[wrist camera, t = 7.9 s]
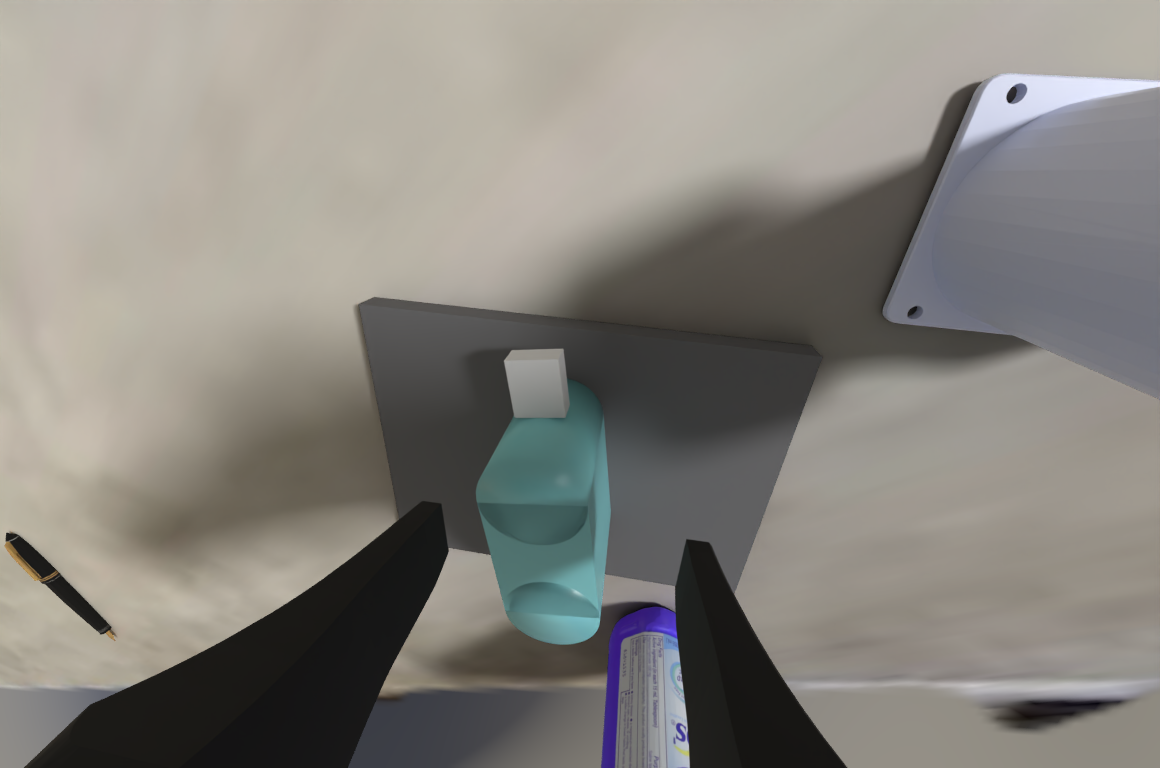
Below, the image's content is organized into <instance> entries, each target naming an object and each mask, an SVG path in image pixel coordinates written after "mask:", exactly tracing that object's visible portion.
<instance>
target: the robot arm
mask: <svg viewBox="0 0 1160 768" xmlns="http://www.w3.org/2000/svg"><path fill="white" fill-rule="evenodd" d="M1013 86H1014V87H1016V90H1017V93H1016V97H1015V98H1014V100H1013V101H1012V102H1011V103H1008V102H1007V100H1006V96H1007V93H1008V91H1009V90H1010V88H1011V87H1013ZM914 306H917V311H916V312H915V313H914V314H913V315H911V316H907V314H908V311H909V310H910V309H911V308H912V307H914ZM883 316H884V317H885V318H886V319H887V320H889V321H890V322H893V323H899V324H909V325H918V326H928V327H938V328H947V329H957V330H966V331H976V332H986V333H995V334H1005V335H1014V336H1016V337H1018V338H1021V339H1023V340H1025V341H1027V342H1030V343H1032V344H1034V345H1036V346H1039V347H1041V348H1043V349H1046V350H1048V351H1050V352H1052V353H1055V354H1057V355H1059V356H1061V357H1064V358H1066V359H1068V360H1071V361H1073V362H1075V363H1077V364H1080V365H1082V366H1084V367H1086V368H1089V369H1091V370H1093V371H1096V372H1098V373H1100V374H1102V375H1105V376H1107V377H1109V378H1111V379H1114V380H1116V381H1118V382H1121V383H1123V384H1125V385H1127V386H1130V387H1132V388H1134V389H1136V390H1139V391H1141V392H1143V393H1146V394H1148V395H1150V396H1152V397H1155V398H1157V399H1159V400H1160V81H1158V80H1137V79H1117V78H1096V77H1076V76H1055V75H1035V74H1014V73H1004V74H999V75H995V76H992V77H990V78H988V79H986V80H984V81H983V82H982V83H981V84H980V85H979V86H978V87H977V89H976V91H975V92H974V94H973V97H972V99H971V101H970V104H969V106H968V108H967V111H966V113H965V115H964V118H963V120H962V123H961V125H960V127H959V130H958V132H957V134H956V137H955V139H954V141H953V144H952V146H951V149H950V151H949V153H948V156H947V158H946V160H945V163H944V165H943V167H942V170H941V172H940V175H939V177H938V179H937V182H936V184H935V186H934V189H933V191H932V193H931V196H930V198H929V201H928V203H927V205H926V208H925V210H924V212H923V215H922V217H921V220H920V222H919V224H918V227H917V229H916V231H915V234H914V236H913V238H912V241H911V243H910V246H909V248H908V250H907V253H906V255H905V257H904V260H903V262H902V264H901V267H900V269H899V272H898V274H897V276H896V279H895V281H894V283H893V286H892V288H891V290H890V293H889V295H888V298H887V300H886V302H885V305H884V307H883ZM448 552H449V550H448V543H447V537H446V530H445V524H444V517H443V510H442V504H441V503H434V502H427V501H421V502H420V503H419V504H418V505H416V506H415V507H414V508H413V509H411V510H410V511H409V512H408V513H406V514H405V515H404V516H403V517H402V518H400V519H399V520H398V521H397V522H396V523H394V524H393V525H392V526H391V527H390V528H388V529H387V530H386V531H385V532H383V533H382V534H381V535H380V536H379V537H377V538H376V539H375V540H374V541H372V542H371V543H370V544H368V545H367V546H366V547H365V548H363V549H362V550H361V551H360V552H358V553H357V554H356V555H355V556H353V557H352V558H351V559H349V560H348V561H347V562H345V563H344V564H343V565H341V566H340V567H339V568H337V569H336V570H334V571H333V572H332V573H330V574H329V575H328V576H326V577H325V578H324V579H322V580H321V581H319V582H318V583H317V584H315V585H314V586H312V587H311V588H309V589H308V590H306V591H305V592H303V593H302V594H300V595H299V596H297V597H296V598H294V599H293V600H291V601H290V602H288V603H286V604H285V605H283V606H282V607H280V608H279V609H277V610H275V611H274V612H272V613H271V614H269V615H267V616H265V617H264V618H262V619H260V620H258V621H257V622H255V623H253V624H252V625H250V626H248V627H246V628H245V629H243V630H241V631H239V632H238V633H236V634H234V635H233V636H231V637H229V638H227V639H225V640H224V641H222V642H220V643H218V644H216V645H214V646H212V647H210V648H209V649H207V650H205V651H203V652H201V653H199V654H197V655H195V656H193V657H191V658H189V659H187V660H185V661H183V662H181V663H179V664H177V665H175V666H173V667H171V668H169V669H167V670H165V671H163V672H161V673H159V674H157V675H155V676H153V677H150V678H148V679H146V680H144V681H142V682H140V683H137V684H135V685H133V686H131V687H129V688H126V689H124V690H122V691H120V692H118V693H115V694H114V695H111V696H109V697H107V698H105V699H103V700H100V701H98V702H95V703H93V704H91V705H89V706H88V707H87V708H86V709H85V710H84V711H83V712H82V713H81V714H80V715H79V716H78V717H77V718H75V719H74V720H73V721H72V722H71V723H70V724H69V725H68V726H67V727H66V728H65V729H64V730H63V731H62V732H61V733H60V734H59V735H58V736H57V737H56V738H55V739H54V740H52V741H51V742H50V743H49V744H48V745H47V746H46V747H45V748H44V749H43V750H42V751H41V752H40V753H39V754H38V755H37V756H36V757H35V758H34V759H33V760H31V761H30V762H29V763H28V764H27V765H26V766H25V767H24V768H348V766H349V763H350V761H351V759H352V756H353V754H354V751H355V749H356V747H357V744H358V741H359V739H360V737H361V734H362V732H363V729H364V727H365V725H366V722H367V720H368V718H369V715H370V713H371V711H372V709H373V706H374V704H375V702H376V699H377V697H378V695H379V693H380V690H381V688H382V686H383V683H384V681H385V679H386V677H387V675H388V673H389V671H390V669H391V667H392V665H393V663H394V661H395V659H396V657H397V656H398V654H399V652H400V650H401V648H402V646H403V645H404V643H405V641H406V639H407V637H408V635H409V633H410V632H411V630H412V628H413V626H414V624H415V622H416V621H417V619H418V617H419V615H420V613H421V611H422V609H423V608H424V606H425V604H426V602H427V600H428V598H429V596H430V594H431V592H432V591H433V589H434V587H435V585H436V582H437V580H438V577H439V575H440V573H441V570H442V568H443V565H444V562H445V560H446V557H447V555H448ZM675 606H676V631H677V640H678V649H679V657H680V666H681V674H682V683H683V691H684V699H685V708H686V716H687V727H688V739H689V762H690V768H847V767H846V766H845V764H844V763H843V762H842V760H841V759H840V758H839V756H838V755H837V754H836V753H835V751H834V750H833V749H832V747H831V746H830V745H829V744H828V742H827V741H826V740H825V738H824V737H823V736H822V734H821V733H820V732H819V730H818V729H817V728H816V726H815V725H814V723H813V722H812V721H811V719H810V718H809V716H808V715H807V714H806V712H805V711H804V709H803V708H802V706H801V705H800V704H799V702H798V701H797V699H796V698H795V696H794V695H793V693H792V692H791V690H790V689H789V687H788V686H787V684H786V683H785V681H784V680H783V678H782V677H781V675H780V674H779V672H778V670H777V669H776V667H775V666H774V664H773V662H772V661H771V659H770V658H769V656H768V654H767V653H766V651H765V649H764V648H763V646H762V644H761V643H760V641H759V639H758V637H757V636H756V634H755V632H754V630H753V629H752V627H751V625H750V623H749V621H748V620H747V618H746V616H745V614H744V612H743V610H742V608H741V607H740V605H739V603H738V601H737V599H736V597H735V595H734V593H733V591H732V589H731V587H730V585H729V583H728V581H727V579H726V577H725V575H724V573H723V570H722V568H721V566H720V564H719V562H718V559H717V557H716V555H715V552H714V550H713V547H712V545H711V544H710V543H709V542H704V541H697V540H690V539H686V543H685V547H684V551H683V556H682V560H681V565H680V569H679V573H678V578H677V582H676V586H675Z"/></svg>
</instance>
